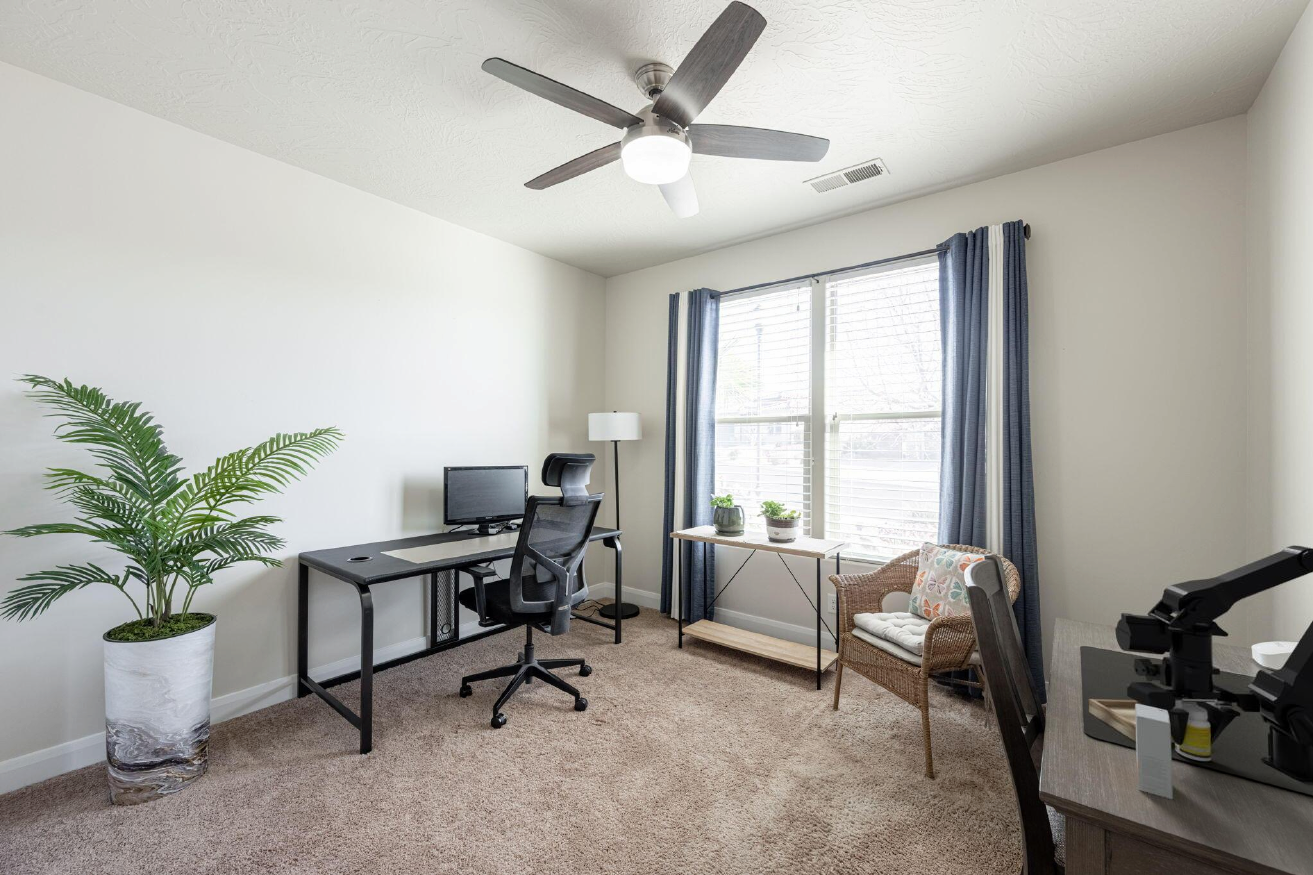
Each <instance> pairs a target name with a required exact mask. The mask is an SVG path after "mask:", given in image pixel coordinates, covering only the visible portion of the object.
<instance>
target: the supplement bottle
mask: <svg viewBox="0 0 1313 875" xmlns="http://www.w3.org/2000/svg"><path fill="white" fill-rule="evenodd" d="M1182 709H1183V710H1185V711H1187V712H1189V717H1188V722H1187V727H1186V732H1185V737H1184V741H1183V744H1182V745H1178V744H1176V743H1174V750H1175V752H1177V753H1178V754H1180V755H1181V756H1183V757H1185V758H1188V759H1191V760H1195V761H1200V762H1209V761H1211V760H1212V746H1211V727H1210V723H1209V722H1208V721H1207V718H1208V716H1207V710H1206V709H1204V708H1202V707H1199V706H1198V705H1197V704H1194V703H1193V704H1192V703H1188V702H1182Z"/></svg>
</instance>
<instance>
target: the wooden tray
mask: <svg viewBox="0 0 1313 875" xmlns="http://www.w3.org/2000/svg"><path fill="white" fill-rule="evenodd" d="M1135 704H1141V703H1139V702H1137V701H1136V700H1134V699H1104V698H1103V699H1102V698H1098V699H1097V698H1088V712H1089V713H1090V714H1091V715H1093V716H1095V717H1096V718H1097V719H1099V720H1101V721H1103V722H1104V723H1106V725H1109V726H1110V727H1113V729H1115V730H1117V731H1118V732H1120V733H1121V734H1123V735H1124V736H1126V737H1128V738H1129V739H1131V740H1133V741H1134V742H1136V718H1135ZM1141 705H1143V704H1141ZM1171 743H1174V744H1175V742H1174V740H1173V738H1172V735H1171Z"/></svg>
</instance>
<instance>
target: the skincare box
mask: <svg viewBox="0 0 1313 875" xmlns="http://www.w3.org/2000/svg"><path fill="white" fill-rule="evenodd" d="M1135 718H1136V741H1135V753H1136V757H1135V758H1136V773H1137V788H1138V790H1139V791H1140V790H1141V792H1145V793H1147V792H1148V794H1151V795H1154V794H1155V796H1157V797H1161V798H1165V797H1166V798H1165V799H1168V798H1169V800H1173V796H1174V795H1173V794H1174V793H1173V768H1172V767H1173V766H1172V765H1173V764H1172V742H1171V730H1170V720H1169V714H1168V711H1167V710H1163V709H1159V708H1154V707H1150V706H1146V705H1141V704H1135Z"/></svg>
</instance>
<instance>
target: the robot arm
mask: <svg viewBox="0 0 1313 875" xmlns="http://www.w3.org/2000/svg"><path fill="white" fill-rule="evenodd" d="M1311 573H1313V547H1312V548H1311V547H1307V546H1301V545H1289V546H1286V547H1284V548H1283V549H1282V550H1281V551H1278V552H1276V553H1274V554H1271V555H1268V556H1266V557H1263V558H1260V559H1258V560H1256V561H1253V562H1251V563H1250V562H1249V563H1248V564H1245V565H1243V566H1241V567H1238V568H1236V569H1233V570H1230V571H1228V572H1225V573H1222V574H1220V575H1218V576H1216V577H1211V578H1205V579H1194V580H1187V581H1183V582H1178V583H1175V584H1171V585H1169V586H1166V588H1164V589H1163V593H1162V598H1160V600H1159V601H1157V603H1156V604H1155V605H1154V606H1153V607H1152V608H1151V610H1149V611H1148V613H1147V615H1140V614H1139V615H1138V614H1133V613H1127V612H1121V614H1120V619H1118V621H1117V625H1116V627H1115V630H1114V632H1115V638H1116V641H1117V644H1118V646H1119V648H1120V649H1121V651H1123V652H1130V653H1131V652H1132V653H1140V654H1149V655H1151V654H1152V655H1161V656H1162V655H1164V654H1166V653H1168V655H1169V656H1163V657H1162V659H1161V663H1153V662H1152V661H1151V659H1150V658H1134V659H1133V660H1134V662H1133V669H1134V672H1135V674H1136V675H1137V676H1139V677H1144V678H1145V681H1146V682H1144V681H1143V682H1142V681H1131V682H1130V683H1128V684H1127V686H1126V691H1127V692H1126V696H1127V697H1128V698H1130V699H1131V700H1136V701H1137V702H1139V703H1141V704H1143V705H1146V706H1150V707H1154V708H1159V709H1163V710H1167V711H1168V714H1169V720H1170V730H1171V735H1172V738H1173V740H1174V742H1175V743H1176V744H1178V745H1182V744H1183V741H1184V737H1185V732H1186V727H1187V722H1188V717H1189V712H1187V711H1185V710H1183V709H1182V703H1196V706H1199V707H1202V708H1204V709H1206V710H1207V716H1208V718H1207V721H1208V722H1209V723H1210V727H1211V747H1212V746H1213V745H1214V743H1215V742H1216V740H1217V739H1218V738H1219V737H1220V735H1221V734H1222V732H1223V731H1224V730H1225V729H1226V728H1227V727H1228V725H1230V724H1231V722H1233V720H1234V719H1235V718H1236V717H1240V716H1241V715H1242V714H1241V712H1239V711H1238V710H1235V709H1234V706H1233V704H1234V703H1235V704H1236V706H1237V707H1238V709H1240V710H1241V711H1242V712H1245V713H1259V715H1260V718H1261V720H1262V722H1265V723H1266V724H1267V725H1269V726H1268V727H1269V732H1268V733H1267V748H1268V749H1267V750H1268V752H1267V753H1268V754H1267V755H1268V756H1261V757H1260V761H1262V762H1264V763H1266V764H1268V765H1270V766H1271V767H1273V768H1275V769H1277V770H1279V771H1281V772H1283V773H1284V774H1287V775H1288V776H1290V777H1292V778H1294V779H1296V780H1299V781H1306V782H1307V781H1309V782H1310V781H1311V782H1313V620H1312V621H1311V623H1310V624H1309V626H1307V629H1306V630H1305V632H1304V633H1303V634H1302V636H1301V638H1300V639H1299V641H1298V643H1297V644H1296V645H1295V647H1294V649H1293V650H1292V651H1291V653H1290V655H1289V656H1288V658H1287V660H1286V661H1285V663H1284V664H1283V665H1282V667H1281V668H1279V669H1277V670H1275V671H1273V672H1271V673H1270V672H1267V671H1266V670H1263V669H1259V670H1258V671H1257V672H1256V675H1255V677H1254V680H1252V682H1251V683H1249V684H1247V686H1246V689H1248V690H1249V691H1247V690H1245V689H1243V688H1240V687H1238V686H1236V685H1234V684H1231V683H1214V675H1218V676H1220V674H1221V669H1220V668H1218V667H1215V666H1214V660H1213V658H1214V657H1213V656H1214V654H1213V653H1214V652H1213V637H1215V636H1216V637H1226V638H1227V637H1228V636H1229V633H1228V632H1227V631H1225V629H1223V628H1221V626H1219V624H1218V623H1217V622H1216V621H1215V620H1216V619H1218V618H1219V617H1222V616H1223V615H1225V614H1226V613H1228V612H1229V611H1230V610H1231V609H1232V608H1233V606H1234V605H1235V604H1236V603H1238V602H1239V601H1242V600H1245V599H1246V598H1249V597H1252V596H1254V595H1256V594H1259V593H1262V592H1265V591H1267V590H1270V589H1273V588H1275V587H1277V586H1278V587H1279V586H1280V585H1283V584H1286V583H1288V582H1291V581H1293V580H1296V579H1298V578H1301V577H1304V576H1306V575H1308V574H1311ZM1172 614H1173V615H1172ZM1174 615H1175V616H1174ZM1152 681H1156V682H1157V681H1158V682H1159V684H1160V685H1162V686H1164V687H1169V688H1170V689H1165V688H1163V687H1160V686H1158V685H1156V684H1154V683H1152ZM1174 742H1173V743H1174ZM1175 743H1174V744H1175Z"/></svg>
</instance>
